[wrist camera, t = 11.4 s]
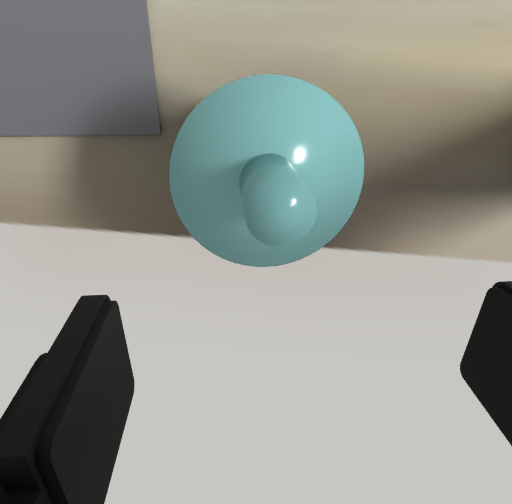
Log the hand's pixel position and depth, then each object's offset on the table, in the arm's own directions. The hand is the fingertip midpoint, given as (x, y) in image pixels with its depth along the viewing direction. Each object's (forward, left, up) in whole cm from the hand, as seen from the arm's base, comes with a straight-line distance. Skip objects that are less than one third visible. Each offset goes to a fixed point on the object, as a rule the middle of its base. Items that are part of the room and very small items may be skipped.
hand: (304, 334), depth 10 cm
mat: (+13, -6, -24) cm, 27 cm away
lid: (-1, +1, -16) cm, 16 cm away
